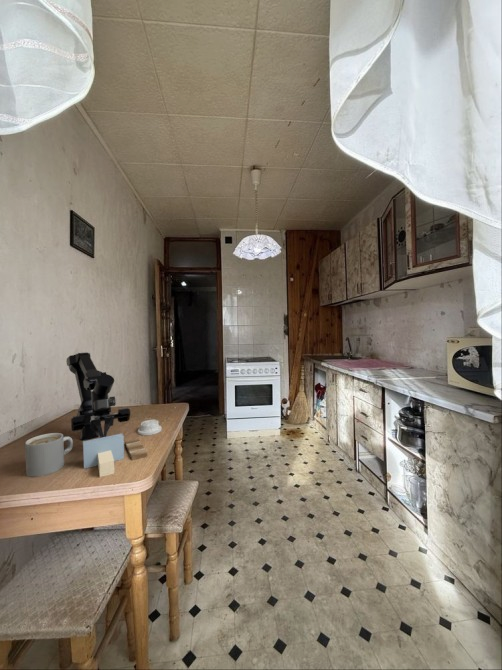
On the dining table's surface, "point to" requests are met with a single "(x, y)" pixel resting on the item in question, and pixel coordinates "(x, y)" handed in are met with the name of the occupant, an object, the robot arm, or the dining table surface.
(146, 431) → the mechanical component
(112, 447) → the light blue upright panel
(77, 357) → the robot arm
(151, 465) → the dining table surface
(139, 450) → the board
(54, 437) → the coffee mug
